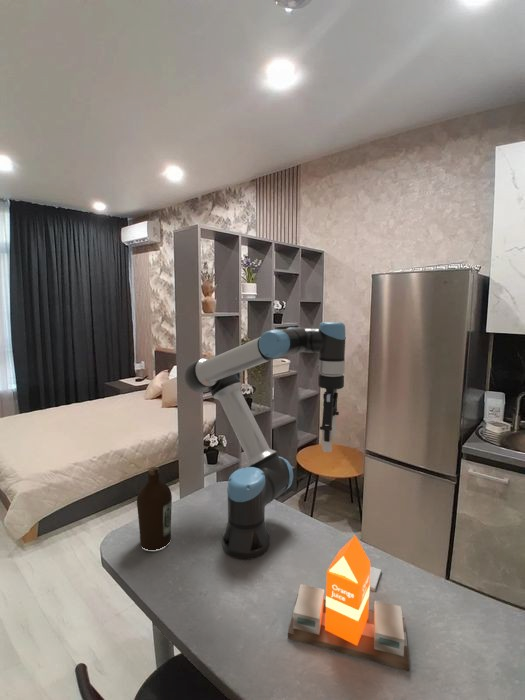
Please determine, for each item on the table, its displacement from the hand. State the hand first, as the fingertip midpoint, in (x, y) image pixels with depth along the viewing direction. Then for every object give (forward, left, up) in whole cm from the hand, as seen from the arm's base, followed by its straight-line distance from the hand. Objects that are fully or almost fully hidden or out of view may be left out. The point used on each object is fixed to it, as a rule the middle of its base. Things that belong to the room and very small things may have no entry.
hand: (329, 443), depth 110 cm
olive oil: (-53, -13, -35) cm, 65 cm away
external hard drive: (+9, -8, -36) cm, 38 cm away
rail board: (+8, -28, -35) cm, 45 cm away
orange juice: (+8, -28, -33) cm, 44 cm away
